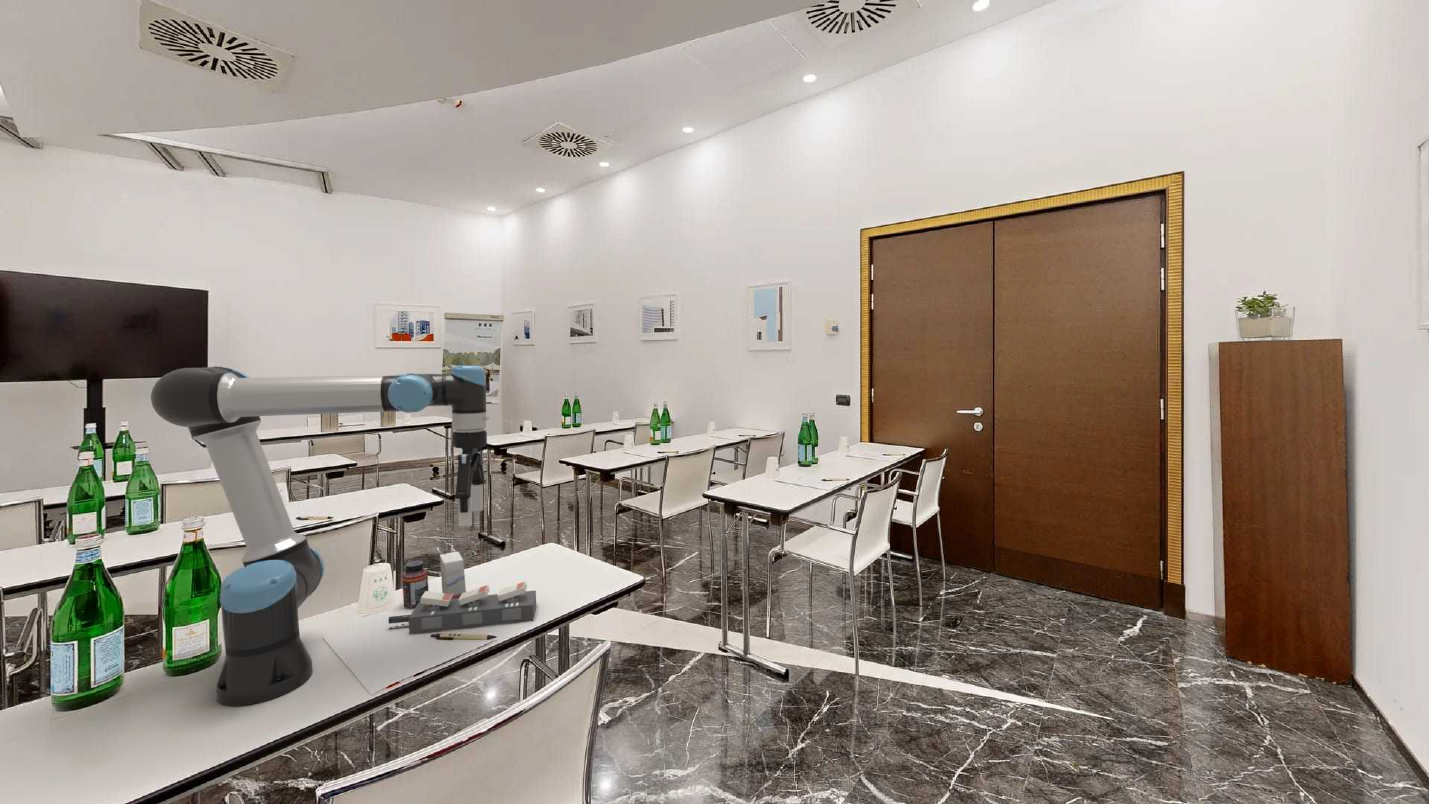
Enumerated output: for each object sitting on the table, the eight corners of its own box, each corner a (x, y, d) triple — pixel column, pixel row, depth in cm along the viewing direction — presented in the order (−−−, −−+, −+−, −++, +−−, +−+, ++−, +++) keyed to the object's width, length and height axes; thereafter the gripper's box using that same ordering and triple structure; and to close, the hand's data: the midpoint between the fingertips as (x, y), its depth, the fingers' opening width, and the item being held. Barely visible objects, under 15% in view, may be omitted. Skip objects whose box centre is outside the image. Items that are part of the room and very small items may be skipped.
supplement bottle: (401, 604, 151) (398, 562, 150) (425, 597, 155) (423, 557, 154) (407, 611, 147) (404, 568, 146) (432, 604, 150) (429, 563, 150)
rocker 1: (419, 604, 137) (421, 597, 137) (424, 597, 141) (425, 590, 141) (447, 608, 138) (449, 600, 138) (451, 601, 142) (453, 593, 142)
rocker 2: (460, 607, 139) (458, 599, 139) (464, 599, 143) (461, 592, 143) (487, 598, 140) (485, 590, 140) (490, 591, 144) (487, 584, 144)
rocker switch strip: (383, 637, 133) (382, 616, 133) (395, 619, 142) (394, 600, 142) (533, 620, 140) (532, 601, 140) (536, 605, 149) (535, 586, 149)
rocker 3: (499, 602, 141) (497, 595, 141) (502, 596, 145) (499, 589, 145) (525, 594, 142) (523, 587, 142) (527, 587, 146) (525, 580, 146)
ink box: (467, 602, 151) (465, 559, 151) (446, 607, 149) (444, 563, 148) (461, 591, 159) (459, 550, 158) (441, 596, 156) (439, 554, 155)
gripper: (475, 436, 125) (477, 532, 126) (495, 424, 149) (496, 504, 150) (438, 437, 123) (441, 533, 125) (464, 424, 147) (466, 505, 149)
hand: (471, 517), depth 138 cm, fingers open, 13 cm apart
